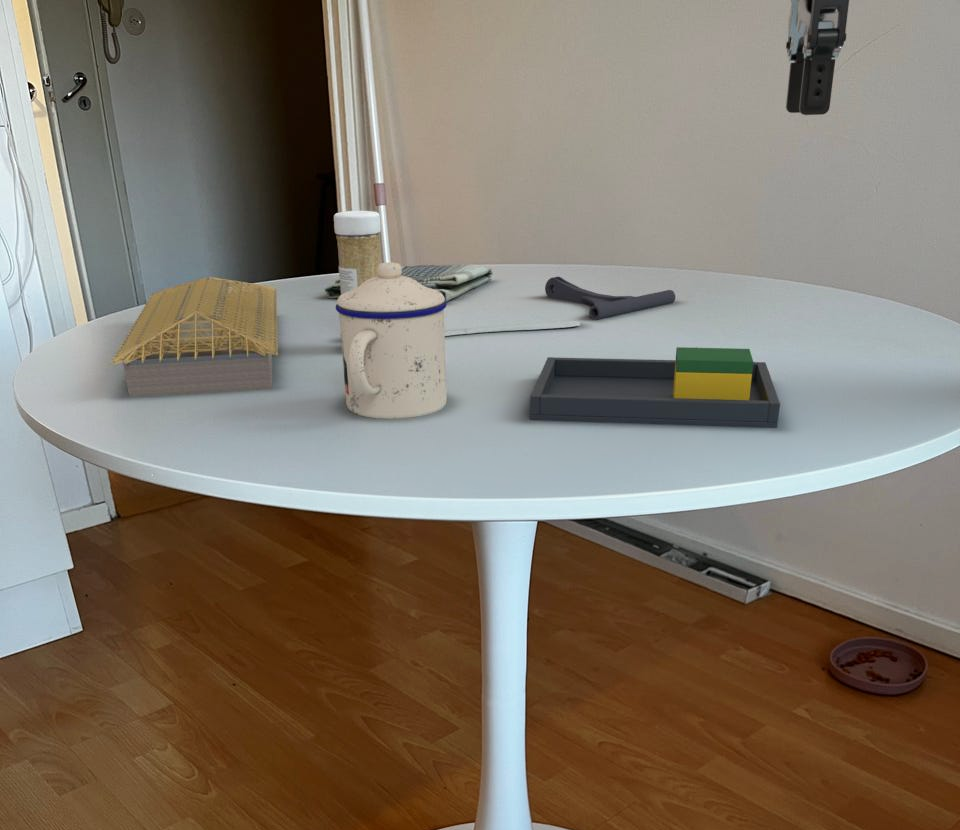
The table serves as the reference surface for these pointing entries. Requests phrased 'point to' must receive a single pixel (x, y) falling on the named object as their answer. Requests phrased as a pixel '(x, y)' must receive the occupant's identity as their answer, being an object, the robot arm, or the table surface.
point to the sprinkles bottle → (357, 247)
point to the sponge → (713, 373)
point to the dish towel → (438, 278)
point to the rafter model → (202, 339)
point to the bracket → (605, 299)
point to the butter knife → (516, 327)
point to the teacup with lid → (393, 346)
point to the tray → (642, 395)
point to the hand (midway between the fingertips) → (805, 113)
